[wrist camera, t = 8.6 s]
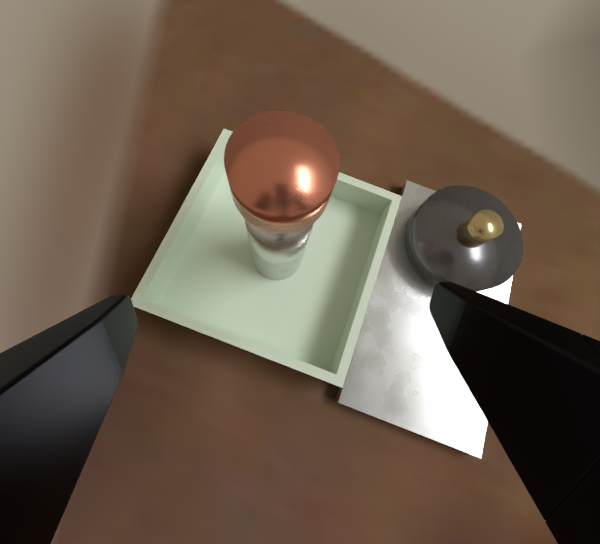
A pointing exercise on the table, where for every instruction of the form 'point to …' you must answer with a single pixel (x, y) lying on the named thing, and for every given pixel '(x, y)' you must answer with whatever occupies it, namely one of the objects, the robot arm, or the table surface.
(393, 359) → the plate
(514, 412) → the robot arm
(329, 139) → the glass spice jar
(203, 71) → the table surface
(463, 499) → the table surface
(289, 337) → the tray
